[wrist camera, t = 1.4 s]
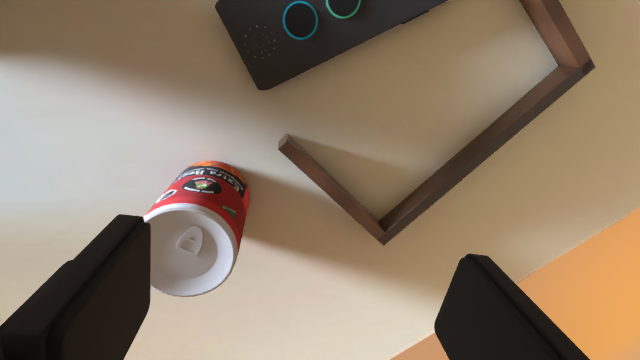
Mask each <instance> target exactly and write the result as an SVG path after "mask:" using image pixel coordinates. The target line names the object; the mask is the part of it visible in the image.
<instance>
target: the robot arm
mask: <svg viewBox="0 0 640 360" xmlns="http://www.w3.org/2000/svg"><path fill="white" fill-rule="evenodd" d="M150 265H151V225H150V223H146V222H144V218H143V217H140V216H131V215H122V214H119V215H118V216H116V217H115V218H114V219H113V220H112V221H111V222H110V223H109V224H108V225H107V226H106V227H105V228H104V229H103V230H102V231H101V232H100V233H99V234H98V235H97V236H96V237H95V238H94V239H93V240H92V241H91V242H90V243H89V244H88V245H87V246H86V247H85V248H84V249H83V250H82V251H81V252H80V253H79V254H78V255H77V256H76V257H75V258H74V259H73V260H70V261H68V262H66V263H65V264H64V265H62V266H61V267H60V268H59V269H58V270H57V271H56V272H55V273H54V274H53V275H52V276H51V277H50V278H49V279H48V280H47V281H46V282H45V283H44V284H43V285H42V286H41V287H40V288H39V289H38V290H37V291H36V292H35V293H34V294H33V295H32V296H31V297H30V298H29V299H28V300H27V301H26V302H25V303H24V304H23V305H21V306H20V307H19V308H18V309H17V310H16V311H15V312H14V313H13V314H12V315H11V316H10V317H9V318H8V319H7V320H6V321H5V322H4V323H3V324H2V325H1V326H0V360H123V359H124V357H125V356H126V354H127V352H128V350H129V348H130V346H131V344H132V342H133V340H134V338H135V336H136V334H137V332H138V330H139V328H140V326H141V325H142V323H143V321H144V319H145V317H146V315H147V312H148V309H149V305H150ZM434 327H435V333H436V335H437V337H438V339H439V341H440V342H441V345H442V347H443V348H444V350H445V352H446V354H447V356H448V358H449V360H590V359H589V358H588V357H587V356H586V355H585V354H584V353H583V352H582V351H581V350H580V349H579V348H578V347H577V346H576V345H575V344H574V343H573V342H572V341H571V340H570V339H569V338H568V337H567V336H566V335H565V334H564V333H563V332H562V331H561V330H560V329H559V328H558V327H557V326H556V325H555V324H554V323H553V322H552V321H551V319H549V318H548V316H547V315H546V314H545V313H544V312H543V311H542V310H541V309H539V307H538V306H537V305H536V304H535V303H534V302H533V301H532V300H531V299H530V298H529V297H528V296H527V295H526V294H525V293H524V292H523V291H522V290H521V289H520V288H519V287H518V286H517V285H516V284H515V283H514V282H513V281H512V280H511V279H510V278H509V277H508V276H507V275H506V274H505V273H504V272H503V271H502V270H501V269H500V268H499V267H498V266H497V265H496V264H495V262H494V261H493V260H492V259H491V258H489V257H488V256H485V255H477V254H467V255H466V256H465V257H464V258H462V259H461V260H460V261H459V263H458V266H457V268H456V271H455V273H454V276H453V278H452V281H451V283H450V286H449V288H448V291H447V293H446V296H445V298H444V301H443V303H442V306H441V308H440V311H439V313H438V316H437V318H436V321H435V326H434Z"/></svg>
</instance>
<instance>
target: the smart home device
mask: <svg viewBox="0 0 640 360" xmlns="http://www.w3.org/2000/svg"><path fill="white" fill-rule="evenodd" d="M446 1H448V0H219V1H218V2H217V3H216V5H215V8H216V10H217V12H218V14H219V16H220V18H221V20H222V22H223V23H224V25H225V27H226V29H227V31H228V33H229V35H230V37H231V39H232V41H233V43H234V44H235V46H236V48H237V50H238V52H239V54H240V56H241V58H242V60H243V62H244V63H245V65H246V67H247V69H248V71H249V73H250V75H251V77H252V79H253V81H254V82H255V84H256V86H257V88H258V89H259V90H268V89H271V88H273V87H275V86H277V85H279V84H281V83H283V82H285V81H287V80H289V79H291V78H293V77H295V76H297V75H299V74H301V73H303V72H305V71H307V70H309V69H311V68H313V67H315V66H317V65H319V64H321V63H323V62H325V61H327V60H329V59H331V58H333V57H335V56H337V55H339V54H341V53H343V52H345V51H347V50H349V49H351V48H353V47H355V46H357V45H359V44H361V43H363V42H365V41H367V40H369V39H371V38H373V37H375V36H377V35H379V34H381V33H383V32H385V31H387V30H389V29H391V28H393V27H395V26H397V25H399V24H404V23H406V22H408V21H410V20H412V19H414V18H416V17H418V16H420V15H422V14H424V13H426V12H428V11H429V9H431V8H433V7H435V6H437V5H439V4H441V3H444V2H446Z"/></svg>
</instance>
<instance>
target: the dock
mask: <svg viewBox="0 0 640 360" xmlns="http://www.w3.org/2000/svg"><path fill="white" fill-rule="evenodd" d="M520 2H521V3H522V5H523V7H524V8H525V10H526V12H527V13H528V15H529V17H530V18H531V20H532V22H533V23H534V25H535V27H536V28H537V30H538V32H539V33H540V35H541V37H542V38H543V40H544V42H545V43H546V45H547V47H548V48H549V50H550V52H551V53H552V55H553V57H554V58H555V60H556V62H557V63H558V65H559V66H558V67H557V68H556V69H555V70H554V71H552V72H551V73H550V74H549V75H548V76H547V77H545V78H544V79H543V80H542V81H541V82H540V83H539V84H537V85H536V86H535V87H534V88H533V89H532V90H530V91H529V92H528V93H527V94H526V95H525V96H524V97H522V98H521V99H520V100H519V101H518V102H517V103H515V104H514V105H513V106H512V107H511V108H510V109H508V110H507V111H506V112H505V113H504V114H503V115H502V116H500V117H499V118H498V119H497V120H496V121H495V122H493V123H492V124H491V125H490V126H489V127H488V128H487V129H485V130H484V131H483V132H482V133H481V134H480V135H478V136H477V137H476V138H475V139H474V140H473V141H472V142H470V143H469V144H468V145H467V146H466V147H465V148H463V149H462V150H461V151H460V152H459V153H458V154H456V155H455V156H454V157H453V158H452V159H451V160H450V161H448V162H447V163H446V164H445V165H444V166H443V167H441V168H440V169H439V170H438V171H437V172H436V173H435V174H433V175H432V176H431V177H430V178H429V179H428V180H426V181H425V182H424V183H423V184H422V185H421V186H419V187H418V188H417V189H416V190H415V191H414V192H413V193H411V194H410V195H409V196H408V197H407V198H406V199H404V200H403V201H402V202H401V203H400V204H399V205H398V206H396V207H395V208H394V209H393V210H392V211H391V212H389V213H388V214H387V215H386V216H385V217H384V218H383V219H381V220H380V221H378V220H377V219H376V218H375V217H374V216H373V215H372V214H371V213H370V212H369V211H368V210H367V209H366V208H364V207H363V206H362V205H361V204H360V203H359V202H358V201H357V200H356V199H355V198H354V197H353V196H352V195H351V194H350V193H349V192H348V191H347V190H345V189H344V188H343V187H342V186H341V185H340V184H339V183H338V182H337V181H336V180H335V179H334V178H333V177H332V176H331V175H330V174H329V173H328V172H326V171H325V170H324V169H323V168H322V167H321V166H320V165H319V164H318V163H317V162H316V161H315V160H314V159H313V158H312V157H311V156H310V155H309V154H307V153H306V152H305V151H304V150H303V149H302V148H301V147H300V146H299V145H298V144H297V143H296V142H295V141H294V140H293V139H292V138H291V137H289V136H288V135H287V134H286V135H285V136H284V137H283V138H282V139H281V140H280V141H279V147H278V149H279V150H280V151H281V152H282V153H283V154H284V155H285V156H286V157H287V158H288V159H290V160H291V161H292V162H293V163H294V164H295V165H296V166H297V167H298V168H299V169H300V170H302V171H303V172H304V173H305V174H306V175H307V176H308V177H309V178H310V179H311V180H312V181H314V182H315V183H316V184H317V185H318V186H319V187H320V188H321V189H322V190H323V191H324V192H326V193H327V194H328V195H329V196H330V197H331V198H332V199H333V200H334V201H335V202H336V203H338V204H339V205H340V206H341V207H342V208H343V209H344V210H345V211H346V212H347V213H349V214H350V215H351V216H352V217H353V218H354V219H355V220H356V221H357V222H358V223H359V224H361V225H362V226H363V227H364V228H365V229H366V230H367V231H368V232H369V233H370V234H371V235H373V236H374V237H375V238H376V239H377V240H378V241H379V242H380V243H381V244H382V245H385V244H386V243H387V242H389V241H390V240H391V239H392V238H393V237H395V236H396V235H397V234H398V233H399V232H400V231H402V230H403V229H404V228H405V227H406V226H408V225H409V224H410V223H411V222H412V221H414V220H415V219H416V218H417V217H418V216H419V215H421V214H422V213H423V212H424V211H425V210H427V209H428V208H429V207H430V206H431V205H432V204H434V203H435V202H436V201H437V200H438V199H440V198H441V197H442V196H443V195H444V194H446V193H447V192H448V191H449V190H450V189H451V188H453V187H454V186H455V185H456V184H457V183H459V182H460V181H461V180H462V179H463V178H465V177H466V176H467V175H468V174H469V173H470V172H472V171H473V170H474V169H475V168H476V167H478V166H479V165H480V164H481V163H482V162H483V161H485V160H486V159H487V158H488V157H489V156H491V155H492V154H493V153H494V152H495V151H497V150H498V149H499V148H500V147H501V146H502V145H504V144H505V143H506V142H507V141H508V140H510V139H511V138H512V137H513V136H514V135H516V134H517V133H518V132H519V131H520V130H521V129H523V128H524V127H525V126H526V125H527V124H529V123H530V122H531V121H532V120H533V119H534V118H536V117H537V116H538V115H539V114H540V113H542V112H543V111H544V110H545V109H546V108H548V107H549V106H550V105H551V104H552V103H553V102H555V101H556V100H557V99H558V98H559V97H561V96H562V95H563V94H564V93H565V92H567V91H568V90H569V89H570V88H571V87H572V86H574V85H575V84H576V83H577V82H578V81H580V80H581V79H582V78H583V77H584V76H586V75H587V74H588V73H589V72H590V71H592V70H593V69H594V68H595V65H594V64H593V62H592V60H591V58H590V56H589V54H588V53H587V51H586V49H585V47H584V45H583V44H582V42H581V40H580V38H579V36H578V35H577V33H576V31H575V29H574V27H573V25H572V24H571V22H570V20H569V18H568V16H567V15H566V13H565V11H564V9H563V7H562V6H561V4H560V2H559V0H520Z"/></svg>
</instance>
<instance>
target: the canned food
mask: <svg viewBox="0 0 640 360" xmlns="http://www.w3.org/2000/svg"><path fill="white" fill-rule="evenodd" d="M249 201H250V193H249V189H248V186H247V184H246V182H245V180H244V178H243V177H242V175H241V174H240V173H239V172H238V171H237V170H236V169H235V168H233V167H231V166H230V165H228V164H225V163H222V162H217V161H204V162H200V163H196V164H194V165H191V166H189V167H188V168H187V169H185V170H184V171H183V172H182V173H181V174H180V175H179V176H178V177H177V178H176V180H175V181H174V182H173V183H172V184H171V185H170V187H169V188H168V189H167V190H166V191H165V192H164V194H163V195H162V196H161V197H160V198H159V199H158V201H157V202H156V203H155V204H154V205H153V206H152V208H151V209H150V210H149V211H148V212H147V213H146V215H145V216H144V217H143V218H144V222H146V223H150V225H151V265H150V286H151V287H152V288H154V289H155V290H158V291H160V292H162V293H165V294H168V295H172V296H180V297H190V296H197V295H202V294H205V293H207V292H210V291H212V290H214V289H215V288H217V287H218V286H220V285H221V284H222V283H223V282H224V281H225V280H226V279H227V278H228V276H229V275H230V273H231V272H232V269H233V267H234V265H235V262H236V259H237V255H238V252H239V247H240V243H241V238H242V234H243V229H244V225H245V220H246V216H247V211H248V207H249Z"/></svg>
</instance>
